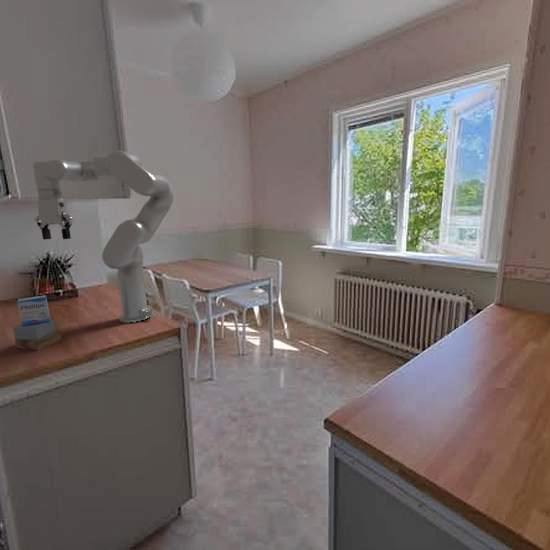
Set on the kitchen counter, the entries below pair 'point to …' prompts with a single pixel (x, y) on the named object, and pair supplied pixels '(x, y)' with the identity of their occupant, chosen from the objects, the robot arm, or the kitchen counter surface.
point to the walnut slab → (39, 341)
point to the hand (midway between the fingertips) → (57, 239)
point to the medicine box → (33, 310)
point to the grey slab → (34, 330)
